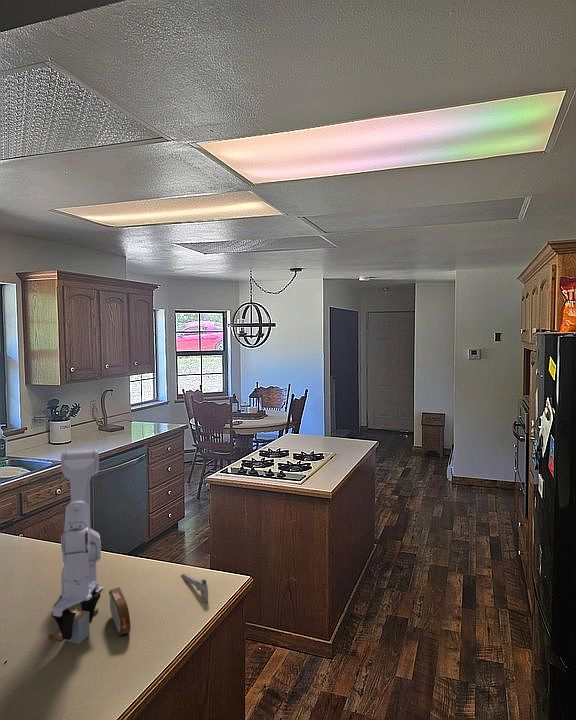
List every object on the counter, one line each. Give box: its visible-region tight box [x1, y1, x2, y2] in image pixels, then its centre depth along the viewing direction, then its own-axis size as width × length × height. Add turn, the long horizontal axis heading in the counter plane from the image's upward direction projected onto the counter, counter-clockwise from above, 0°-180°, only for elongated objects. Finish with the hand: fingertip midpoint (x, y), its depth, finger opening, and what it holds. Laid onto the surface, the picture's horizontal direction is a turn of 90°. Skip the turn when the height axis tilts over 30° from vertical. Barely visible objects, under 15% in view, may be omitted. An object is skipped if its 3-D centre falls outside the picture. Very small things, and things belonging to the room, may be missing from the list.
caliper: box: [180, 572, 209, 603], centre depth 157 cm, size 20×1×6 cm, turn 31°
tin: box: [108, 586, 131, 636], centre depth 136 cm, size 15×3×8 cm, turn 29°
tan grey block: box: [64, 609, 91, 644], centre depth 131 cm, size 4×4×6 cm
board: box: [48, 607, 99, 641], centre depth 137 cm, size 4×14×1 cm, turn 163°
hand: (77, 630), depth 131 cm, fingers open, 7 cm apart
